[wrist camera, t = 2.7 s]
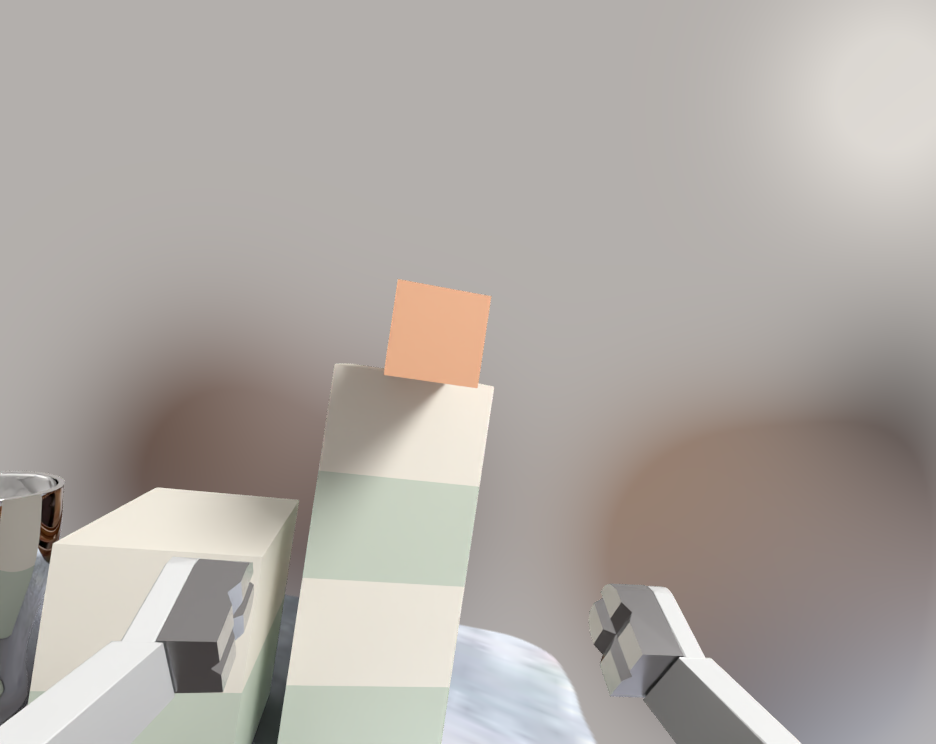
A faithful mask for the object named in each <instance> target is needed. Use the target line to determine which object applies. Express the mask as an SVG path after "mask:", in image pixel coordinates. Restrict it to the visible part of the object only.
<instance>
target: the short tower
mask: <svg viewBox="0 0 936 744" xmlns="http://www.w3.org/2000/svg"><path fill="white" fill-rule="evenodd" d="M298 504H299V500H293V499H281V498H270V497H259V496H246V495H236V494H224V493H213V492H201V491H190V490H179V489H167V488H155V489H153V490H151V491H149V492H147V493H146V494H144V495H142V496H140V497H138V498H136V499H135V500H133V501H131V502H129V503H127V504H125V505H123V506H121V507H120V508H118V509H116V510H115V511H112V512H110V513H109V514H107V515H105V516H103V517H101V518H99V519H98V520H95V521H94V522H92V523H90V524H88V525H86V526H85V527H83V528H81V529H79V530H77V531H75V532H73V533H71V534H70V535H68V536H66V537H64V538H62V539H60V540H58V541H57V542H55V543H53V545H52V552H51V558H50V564H49V571H48V577H47V584H46V590H45V597H44V603H43V610H42V616H41V622H40V629H39V635H38V642H37V648H36V655H35V661H34V668H33V674H32V680H31V687H30V693H29V700H28V704H30V703H31V702H32V701H34V700H35V699H36V698H38V697H39V696H40V695H42V694H43V693H44V692H46V691H47V690H48V689H49V688H51V687H52V686H53V685H55V684H56V683H57V682H59V681H60V680H61V679H63V678H64V677H65V676H67V675H68V674H69V673H70V672H72V671H73V670H74V669H76V668H77V667H78V666H80V665H81V664H82V663H84V662H85V661H86V660H88V659H89V658H90V657H91V656H93V655H94V654H95V653H97V652H98V651H99V650H101V649H102V648H103V647H105V646H106V645H107V644H109V643H110V642H111V641H121V640H122V638H123V636H124V635H125V633H126V631H127V629H128V628H129V626H130V624H131V622H132V621H133V619H134V617H135V616H136V614H137V612H138V610H139V609H140V607H141V605H142V603H143V602H144V600H145V598H146V597H147V595H148V593H149V591H150V590H151V588H152V586H153V584H154V583H155V581H156V579H157V578H158V576H159V574H160V572H161V571H162V569H163V567H164V565H165V564H166V563H167V562H168V561H169V560H170V559H171V558H172V557H188V558H201V559H213V560H227V561H241V562H253V575H252V577H251V580H250V582H251V583H252V584H253V585H254V597H253V604H252V608H251V612H250V616H249V619H248V622H247V625H246V628H245V631H244V633H243V634H242V635H241V636H240V637H239V638H238V639H236V640H235V647H236V657H235V660H234V663H233V666H232V668H231V671H230V674H229V677H228V680H227V683H226V685H225V688H224V691H223V692H220V693H174V694H175V697H174V698H173V699H172V700H171V701H170V702H169V703H168V704H167V706H166V707H165V708H164V709H163V710H162V711H161V712H160V713H159V714H158V715H157V716H156V717H155V718H154V719H153V720H152V721H151V723H150V724H149V725H148V726H147V727H146V728H145V729H144V730H143V731H142V732H141V733H140V734H139V735H138V736H137V737H136V738H135V740H134V741H133V742H132V743H131V744H252V742H253V739H254V736H255V733H256V730H257V728H258V725H259V722H260V719H261V716H262V714H263V711H264V708H265V705H266V702H267V700H268V697H269V694H270V689H271V683H272V676H273V669H274V663H275V656H276V650H277V643H278V636H279V630H280V623H281V617H282V610H283V603H284V597H285V590H286V584H287V577H288V570H289V563H290V557H291V550H292V544H293V537H294V531H295V524H296V517H297V511H298Z"/></svg>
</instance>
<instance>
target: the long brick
mask: <svg viewBox="0 0 936 744" xmlns="http://www.w3.org/2000/svg"><path fill="white" fill-rule="evenodd" d="M490 301H491V296H487V295H481V294H476V293H470V292H464V291H460V290H454V289H449V288H443V287H438V286H433V285H427V284H422V283H416V282H411V281H406V280H400V279H398V283H397V289H396V296H395V302H394V309H393V316H392V323H391V329H390V336H389V342H388V349H387V356H386V363H385V369H384V375H388V376H395V377H402V378H409V379H416V380H422V381H429V382H436V383H443V384H450V385H457V386H464V387H471V388H478V382H479V374H480V368H481V362H482V355H483V348H484V342H485V335H486V328H487V321H488V315H489V308H490Z"/></svg>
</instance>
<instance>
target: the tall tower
mask: <svg viewBox="0 0 936 744" xmlns="http://www.w3.org/2000/svg"><path fill="white" fill-rule="evenodd" d="M384 369H385V368H378V367H372V366H365V365H358V364H335V366H334V372H333V379H332V385H331V392H330V399H329V405H328V412H327V418H326V425H325V432H324V439H323V445H322V452H321V458H320V465H319V472H318V478H317V485H316V491H315V498H314V504H313V511H312V518H311V524H310V532H309V537H308V545H307V551H306V557H305V564H304V571H303V577H302V584H301V591H300V597H299V604H298V610H297V617H296V624H295V630H294V637H293V643H292V650H291V657H290V663H289V670H288V677H287V683H286V690H285V696H284V703H283V710H282V716H281V723H280V729H279V736H278V743H277V744H441V742H442V735H443V728H444V722H445V715H446V708H447V701H448V695H449V688H450V681H451V674H452V668H453V661H454V654H455V647H456V641H457V634H458V627H459V620H460V614H461V607H462V600H463V593H464V587H465V580H466V573H467V567H468V559H469V553H470V546H471V540H472V533H473V525H474V519H475V513H476V506H477V499H478V492H479V486H480V479H481V472H482V465H483V458H484V452H485V445H486V438H487V432H488V425H489V418H490V412H491V405H492V398H493V391H494V387H492V386H487V385H483V384H479V383H478V388H471V387H464V386H457V385H450V384H443V383H436V382H429V381H422V380H416V379H409V378H402V377H395V376H388V375H384Z"/></svg>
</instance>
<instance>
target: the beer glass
mask: <svg viewBox="0 0 936 744" xmlns="http://www.w3.org/2000/svg"><path fill="white" fill-rule="evenodd" d="M64 484H65V481H64V479H63V478H61V477H59V476H56V475H52V474H47V473H40V472H27V471H0V724H1V723H3V722H4V721H5V720H7V719H8V718H9V717H11V716H12V715H13V714H14V713H15V712H16V711H17V710H18V709H19V708H20V707H21V706H22V704H23V703H24V701H25V699H26V697H27V694H28V676H27V667H26V651H27V644H28V640H29V635H30V632H31V629H32V626H33V623H34V620H35V618H36V615H37V612H38V610H39V607H40V605H41V602H42V600H43V597H44V594H45V590H46V584H47V577H48V571H49V564H50V558H51V552H52V545H53V543H55V542H57V541H58V540H60V537H61V528H62V515H63V493H64Z"/></svg>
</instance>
